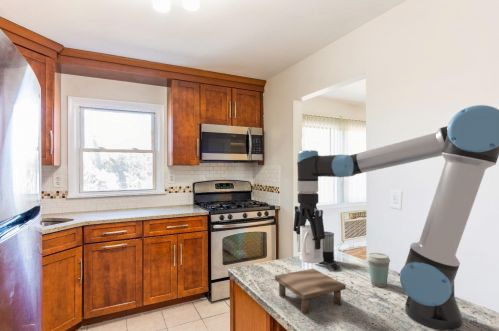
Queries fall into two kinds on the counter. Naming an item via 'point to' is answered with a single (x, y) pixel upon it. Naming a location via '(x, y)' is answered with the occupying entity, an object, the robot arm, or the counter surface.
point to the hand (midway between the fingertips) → (308, 254)
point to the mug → (308, 245)
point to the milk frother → (329, 250)
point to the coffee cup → (378, 269)
